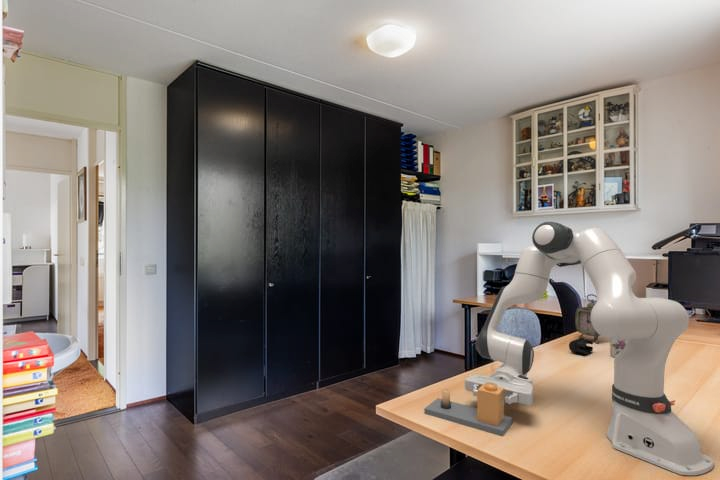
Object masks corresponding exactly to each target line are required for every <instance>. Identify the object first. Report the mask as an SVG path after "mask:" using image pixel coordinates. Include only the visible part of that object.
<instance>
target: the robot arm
mask: <svg viewBox="0 0 720 480" xmlns="http://www.w3.org/2000/svg"><path fill="white" fill-rule="evenodd" d="M531 239H532V244H533V245H530V246H527V247H525V248H524V249H523V250H522V252H521V254H520V256H519V259H518V261H517V265H516V268H515V271H514V276H513V277H512V280H511V281H510V283H509V284H507V285H506V286H502V287H501V289H500V290H499V292H498V293H497V295H496V298H495V299H494V301H493V304H492V306H491V308H490V311H489V313H488V315H487V318H486V320H485V323H484V325H483V326H482V327H481V330H480V332H479V333H478V336H477V338H476V340H475V349H476V351H477V352H478V354H479V355H480V356H481V358H483V359H488V360H491V361H492V360H494V361H496V362H500V363H502V364H501V365H500V366H498V368H497V369H496V370H495V371H494V372H493V373H491V374H490V376H487V375H482V374H472V375H469V376H468V377H466V378H465V379H464V389H465V390H466V391H468V392H471V393H472V395H473V396H475V397H477V390H478V389H479V388H480V387H481V386H482V385H483V384H485V383H495V384H497V387H502V388H504V404H508V405H511V404H513V403H518V404H522V405H526V406H531V405H533V403H534V386H533V379H531V377H528V373H529V372H530V371H531V369H532V367H533V363H534V359H535V358H534V357H535V352H534V347H533V346H532V344H531V343H530V341H529V340H527V339H524V338H522V337H518V336H515V335H510V334H507V333H502V332H499V331H498V328H499V325H500V323H501V320H502V319H503V316H504V313H505V312H506V310H507V309H508V308H510V307H512V306H515V305H522V304H531V303H535V302H536V301H540V300H541V298H543V297H544V296H545V294H546V291H547V288H548V285H549V281H550V275H551V271H552V269H553V267H555V266H557V267H559V268H561V267H567V266H578V265H581V264H582V267H583V268H584V270H585V272H586V273H587V275H588V277H589V279H590V281H591V282H592V284H593V287H594V289H595V294H596V296H597V298H596V301H597V302H595V306H594V307H593V309H592V311H591V323H592V325H593V327H594V329H595V330H596V332H597V333H598V334H600V335H601V337H603V338H608V339H610V338H611V339H617V340H628V343H627V345H626V346H625V347H624V349H623V350H622V351H620V352H619V353H618V354H617V355H616V357H615V358H614V360H613V384H612V385H611V401H612V408H611V410H612V411H611V417H610V421H609V425H608V428H607V430H606V433H605V434H606V437H607V438H608V439H609V440H610V442H611V447H612V448H613V449H615V450H618V451H620V452H622V453H625V454H627V455H630V456H632V457H635V458H638V459H639V460H643V461H645V462H648V463H650V464H652V465H655V466H656V467H657V466H658V467H660V468H662V469H664V470H668V471H670V472H672V473H675V474H678V475H681V476H698V475H703V474H705V473H708V472H709V471H711V470H712V469H713V468H714V459H713V458H712V457H711V456H709V455H707V454H705V453H703V452H702V446H701V442H700V439H699V436H698V435H697V434H696V432H695V431H693V430H692V429H691V428H690V427H689V426H688V425H686V424H685V422H684V421H682V419H681V418H679V417H678V416H677V415H676V414H675V413H674V412H673V411H672V406H675V405H676V403H675V402H676V400H675V399H674V400H673V399H672V400H669V399H668V397H667V396H666V394H665V392H664V391H665V370H666V364H667V360H668V357H669V354H670V352H671V350H672V348H673V345H674V344H675V342H676V341H677V339H678V338H679V337H680V336H681V335H682V334H683V333H684V332H685V331H687V329H688V327H689V324H690V317H689V314H688V312H687V310H686V308H685V307H684V306H683V305H682V304H681V303H680V302H678V301H675V300H672V299H668V298H663V297H638V296H636V295H635V294H634V292H633V288H632V286H633V285H634V283H636V279H637V272H636V270H635V269H634V267H633V266H632V264H631V263H630V261H629V260H628V259H627V257H626V255H625V254H624V252H623V251H622V250H621V248H620V247H619V245H618V244H617V243H616V241H615V240H614V239H613V238H612V237H611V236H610V235H609V234H608V233H607V232H606V231H605V230H603V229H602V228H598V227H591V228H586V229H584V230H582V231H580V232H575V231H574V230H573V229H572V228H570V227H568V226H565V225H563V224H562V223H559V222H555V221H544V222H542V223H540V224H539V225H538V226H536V228H535V229H534V230H533V233H532V238H531Z"/></svg>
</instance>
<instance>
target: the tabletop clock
mask: <svg viewBox="0 0 720 480" xmlns="http://www.w3.org/2000/svg"><path fill="white" fill-rule="evenodd" d="M589 296H591V297H592V296H593V297H595V298H596V299H597V294H596V295H595V294H592V293H589V294H588V295H587V296H586V299H587V301H588V302H589V303H587V305H586V306H582V307H577V308H576V310H575V313H574V314H575V315H574V319H575V320H574V322H575V329H576V331H577V332H578V333H580V335H579V336H578V339H579V338H582V337H583V335H585V336H589V337H593V341H595V344H599V343H600V341H599V337H600V336H601V335H600V334H598V333H597V332H596V330H595V329H594V327H593V325H592V323H591V311H592V309H593V307H594V306H595V304H596V302H597V300H594V299H591V300H590V299H589ZM601 337H602V336H601Z"/></svg>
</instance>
